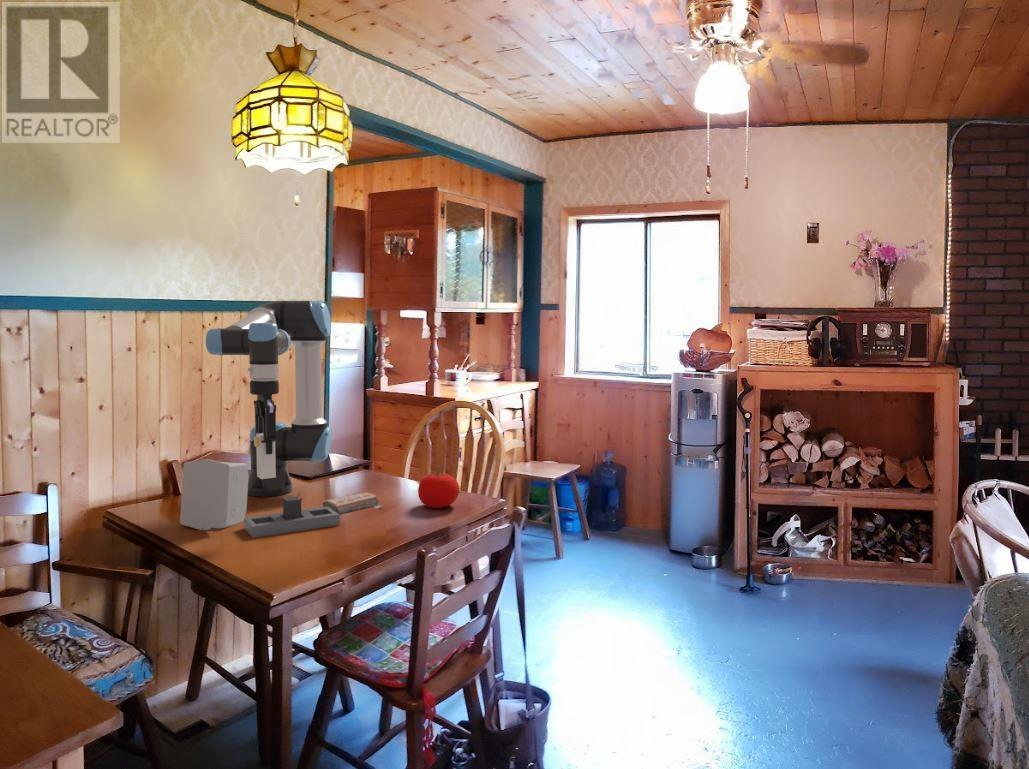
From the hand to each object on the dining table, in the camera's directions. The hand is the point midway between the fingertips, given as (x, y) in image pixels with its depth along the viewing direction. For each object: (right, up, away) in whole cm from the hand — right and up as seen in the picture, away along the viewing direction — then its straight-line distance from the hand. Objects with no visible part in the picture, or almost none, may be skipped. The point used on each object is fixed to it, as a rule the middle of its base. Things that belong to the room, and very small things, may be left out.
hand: (266, 463), depth 208 cm
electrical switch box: (-18, -19, +12) cm, 28 cm away
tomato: (+44, -17, +33) cm, 58 cm away
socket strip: (+6, -19, +6) cm, 21 cm away
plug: (0, -4, 0) cm, 4 cm away
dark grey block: (+6, -18, +6) cm, 20 cm away
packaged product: (+17, -18, +26) cm, 36 cm away
